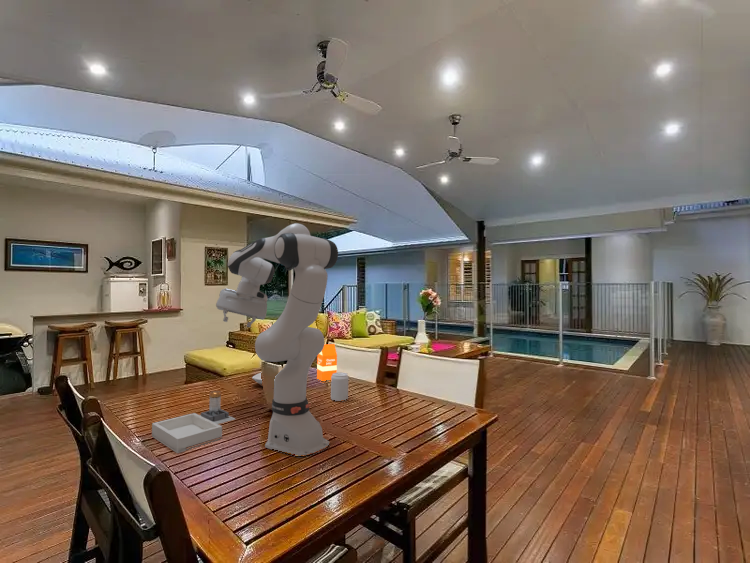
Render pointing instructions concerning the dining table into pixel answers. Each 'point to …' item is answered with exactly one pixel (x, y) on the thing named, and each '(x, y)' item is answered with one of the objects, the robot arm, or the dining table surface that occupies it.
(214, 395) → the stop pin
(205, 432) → the tray
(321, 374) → the orange juice
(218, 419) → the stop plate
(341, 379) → the beverage can
